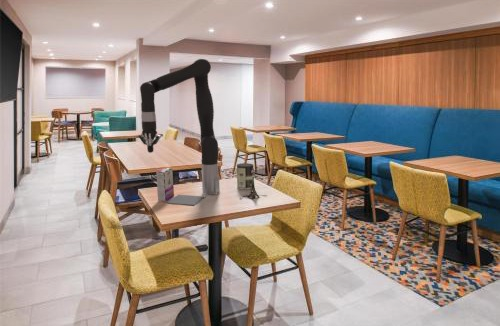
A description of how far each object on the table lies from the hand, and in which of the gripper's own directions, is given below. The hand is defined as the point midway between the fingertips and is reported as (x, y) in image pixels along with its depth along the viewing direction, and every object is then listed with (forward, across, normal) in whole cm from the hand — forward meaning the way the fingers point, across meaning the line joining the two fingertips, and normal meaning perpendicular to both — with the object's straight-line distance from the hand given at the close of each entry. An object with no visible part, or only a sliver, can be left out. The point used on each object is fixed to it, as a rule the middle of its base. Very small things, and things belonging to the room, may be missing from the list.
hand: (150, 152), depth 203 cm
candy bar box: (+26, -8, 0) cm, 27 cm away
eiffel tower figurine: (+26, -54, -15) cm, 62 cm away
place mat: (+26, -20, 0) cm, 32 cm away
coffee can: (+26, -43, -35) cm, 61 cm away
